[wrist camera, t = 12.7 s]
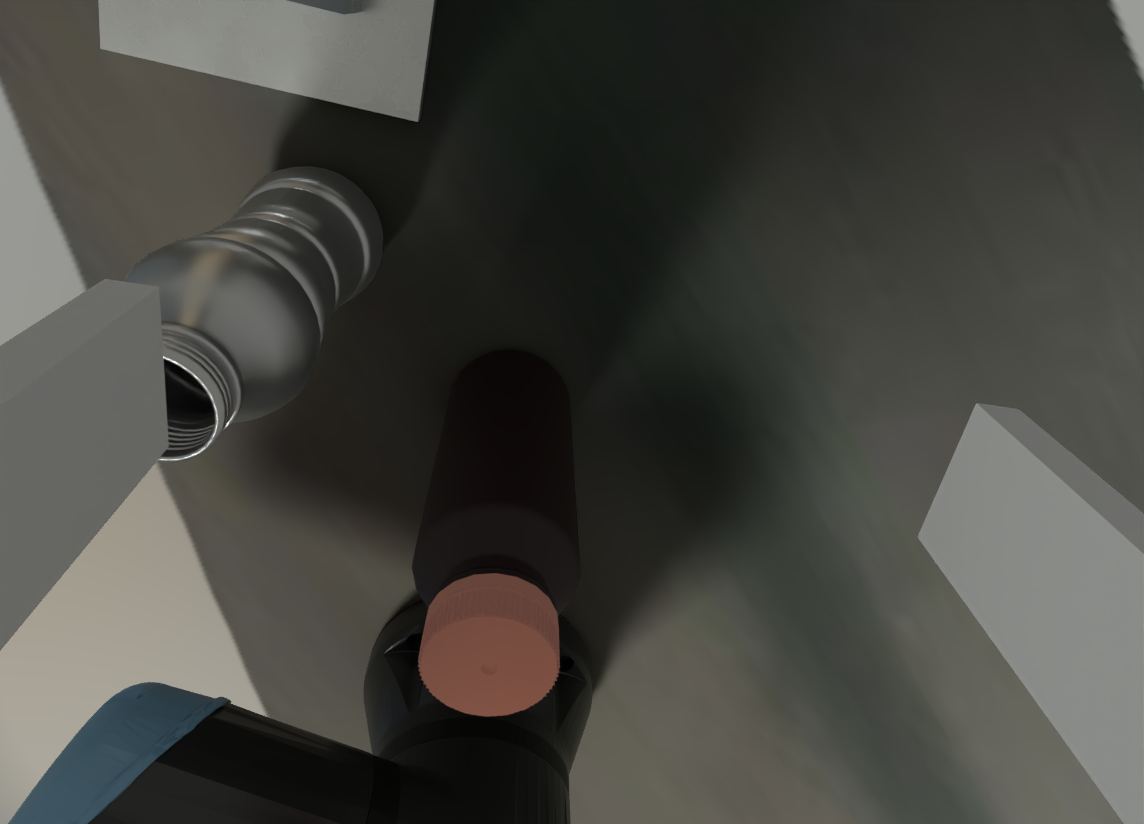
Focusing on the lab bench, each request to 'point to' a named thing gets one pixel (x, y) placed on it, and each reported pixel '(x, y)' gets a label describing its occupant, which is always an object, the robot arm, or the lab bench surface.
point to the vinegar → (498, 537)
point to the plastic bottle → (257, 300)
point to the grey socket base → (288, 45)
